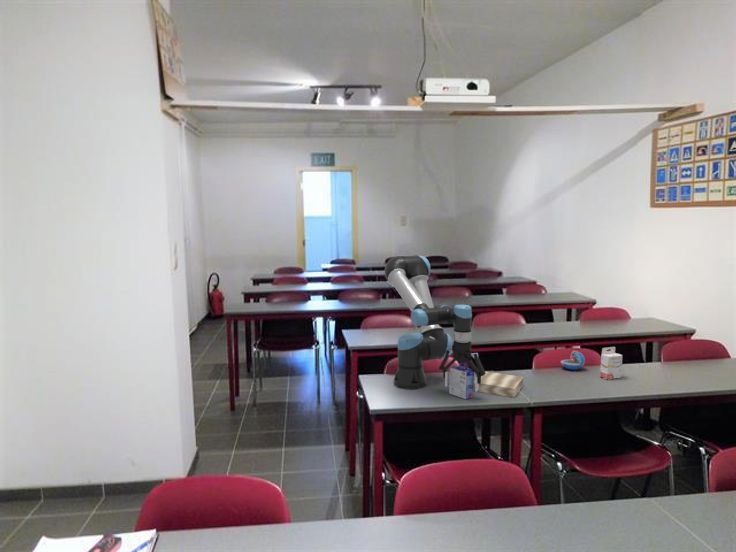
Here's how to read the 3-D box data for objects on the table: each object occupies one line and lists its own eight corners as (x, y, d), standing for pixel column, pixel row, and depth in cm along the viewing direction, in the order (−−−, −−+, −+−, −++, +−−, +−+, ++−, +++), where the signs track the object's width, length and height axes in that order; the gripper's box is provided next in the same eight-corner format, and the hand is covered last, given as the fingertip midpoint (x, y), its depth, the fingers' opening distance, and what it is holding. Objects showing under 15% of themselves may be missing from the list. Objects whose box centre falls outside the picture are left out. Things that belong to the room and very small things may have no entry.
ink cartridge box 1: (474, 397, 212) (475, 364, 211) (466, 400, 209) (466, 367, 207) (457, 390, 220) (457, 359, 219) (448, 393, 217) (449, 361, 215)
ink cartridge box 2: (607, 380, 233) (609, 350, 232) (599, 377, 238) (601, 347, 236) (621, 378, 236) (623, 348, 234) (613, 375, 241) (615, 346, 239)
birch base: (473, 390, 220) (473, 382, 220) (484, 379, 236) (484, 371, 235) (514, 397, 211) (514, 388, 211) (523, 385, 227) (523, 377, 227)
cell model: (556, 366, 255) (557, 349, 254) (578, 366, 256) (578, 348, 255) (566, 372, 245) (566, 354, 244) (588, 371, 247) (589, 353, 246)
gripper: (432, 339, 215) (431, 386, 217) (488, 345, 203) (487, 395, 205) (438, 335, 221) (437, 381, 224) (493, 342, 209) (492, 390, 211)
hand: (461, 388), depth 214 cm, fingers open, 13 cm apart
